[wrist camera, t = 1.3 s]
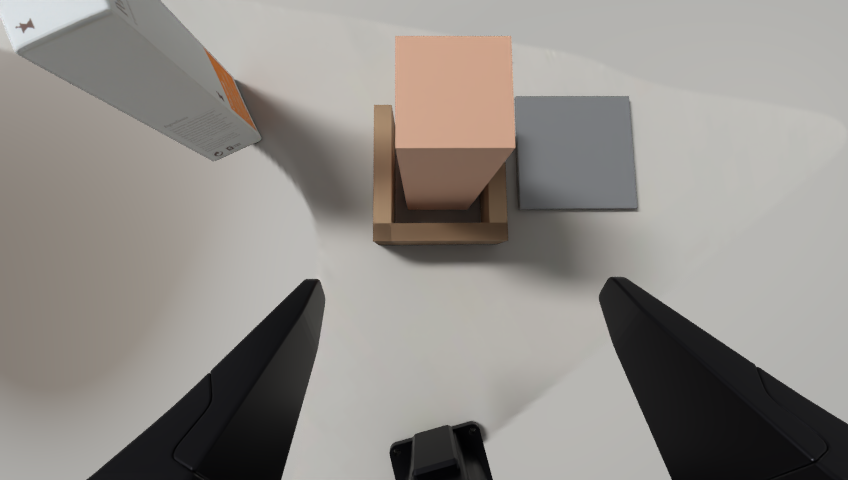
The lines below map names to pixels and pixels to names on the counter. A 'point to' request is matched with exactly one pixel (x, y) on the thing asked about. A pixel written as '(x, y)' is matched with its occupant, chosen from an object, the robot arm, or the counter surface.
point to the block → (452, 116)
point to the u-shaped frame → (393, 233)
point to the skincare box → (136, 67)
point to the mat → (574, 152)
